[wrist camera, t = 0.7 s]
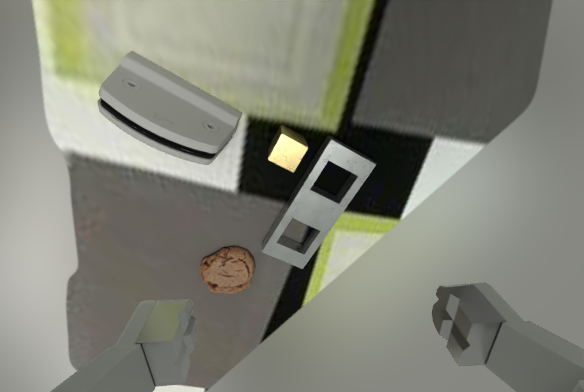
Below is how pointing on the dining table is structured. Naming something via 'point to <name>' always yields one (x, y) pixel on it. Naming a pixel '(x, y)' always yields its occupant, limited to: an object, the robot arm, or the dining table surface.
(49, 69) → the dining table surface
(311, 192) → the grey shape sorter tray
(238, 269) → the cookie
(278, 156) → the wood grain block
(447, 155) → the dining table surface
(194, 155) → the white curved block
